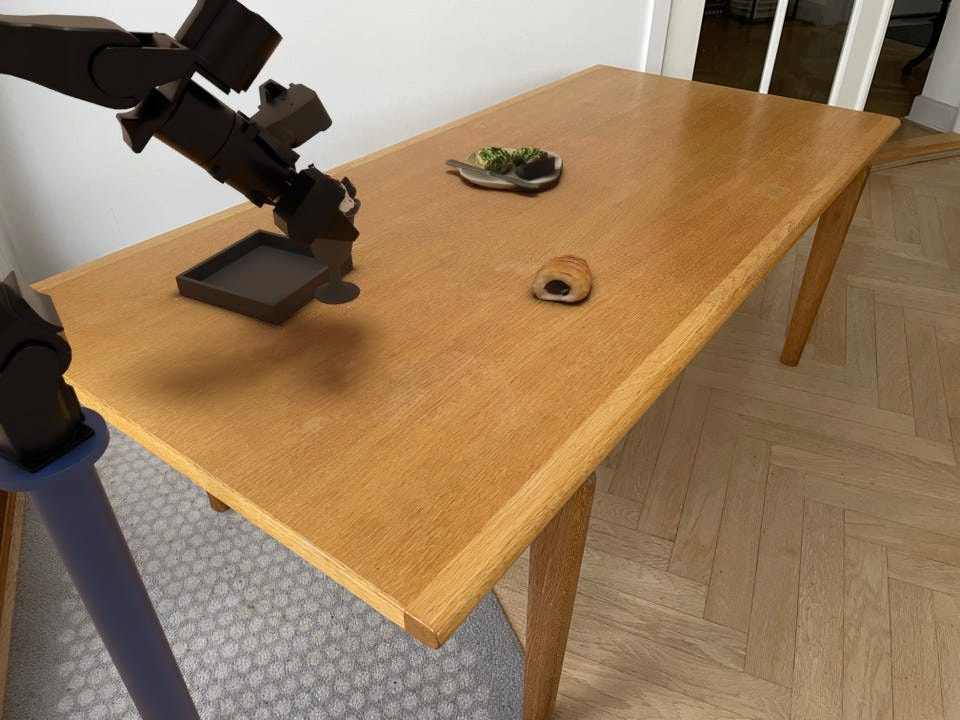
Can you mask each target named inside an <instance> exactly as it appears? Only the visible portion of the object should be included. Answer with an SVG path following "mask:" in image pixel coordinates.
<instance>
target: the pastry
mask: <svg viewBox="0 0 960 720" xmlns="http://www.w3.org/2000/svg"><path fill="white" fill-rule="evenodd" d="M592 281H593V274H592V271H591V268H590V265H589V263H588V262H587V260H586V259H585V258H582V257H578V256H576V255H574V254H569V253H567V254H563V255H560V256H554V257H553V258H550V259H549V260H547V261H546V262H544V264H543V265H542V267H541V268H539V269H538V270H537V271H536V274H535V280H534V284H533V285H532V287H531V289H532V291H533V293H534V294H535V296H536V297H537V298H538V299H540V300H546V301H560V302H566V303H574V302H580V301H581V300H583V299H584V298H586V297H587V296H588V294H589V292H590V290H591V285H592Z"/></svg>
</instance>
